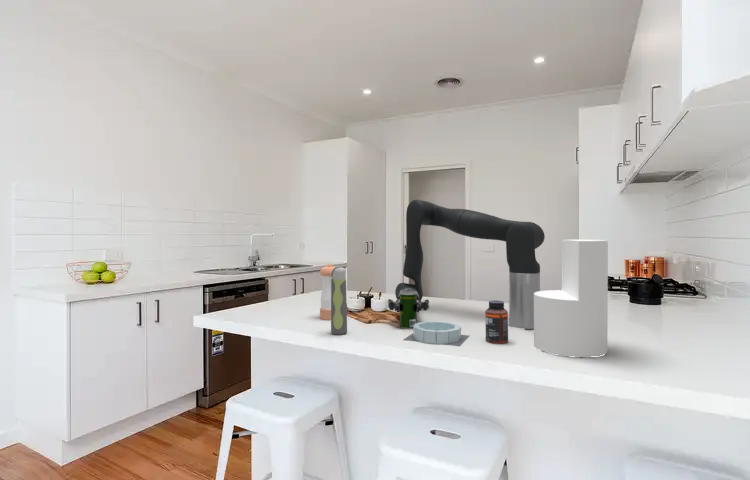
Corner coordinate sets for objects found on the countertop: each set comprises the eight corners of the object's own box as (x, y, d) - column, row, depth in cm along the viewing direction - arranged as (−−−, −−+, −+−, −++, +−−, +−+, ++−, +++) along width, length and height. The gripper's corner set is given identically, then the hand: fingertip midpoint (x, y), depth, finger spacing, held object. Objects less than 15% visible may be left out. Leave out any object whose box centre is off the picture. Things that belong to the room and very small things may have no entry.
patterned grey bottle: (346, 335, 124) (345, 267, 123) (329, 335, 124) (329, 267, 123) (348, 331, 128) (347, 266, 128) (332, 331, 129) (331, 266, 128)
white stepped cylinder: (595, 340, 115) (595, 239, 114) (618, 360, 98) (618, 241, 98) (529, 338, 119) (528, 239, 118) (540, 356, 102) (540, 241, 101)
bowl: (465, 334, 121) (465, 323, 121) (453, 346, 110) (453, 333, 110) (422, 330, 127) (422, 319, 127) (407, 340, 115) (407, 329, 115)
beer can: (420, 328, 131) (420, 290, 131) (408, 331, 128) (407, 292, 128) (408, 325, 135) (408, 288, 135) (396, 328, 132) (396, 290, 132)
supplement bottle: (508, 340, 116) (508, 300, 116) (507, 346, 110) (507, 303, 110) (486, 339, 118) (486, 299, 118) (484, 344, 112) (484, 302, 112)
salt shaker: (315, 318, 148) (315, 264, 148) (330, 315, 154) (330, 262, 153) (329, 321, 143) (329, 265, 143) (344, 317, 149) (344, 263, 148)
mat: (469, 336, 120) (469, 335, 120) (459, 347, 110) (459, 346, 110) (417, 331, 127) (417, 330, 127) (402, 341, 116) (402, 339, 116)
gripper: (387, 289, 146) (384, 296, 129) (429, 289, 145) (431, 297, 128) (388, 310, 146) (384, 320, 130) (429, 310, 145) (431, 321, 128)
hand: (408, 308), depth 129 cm, fingers open, 5 cm apart
